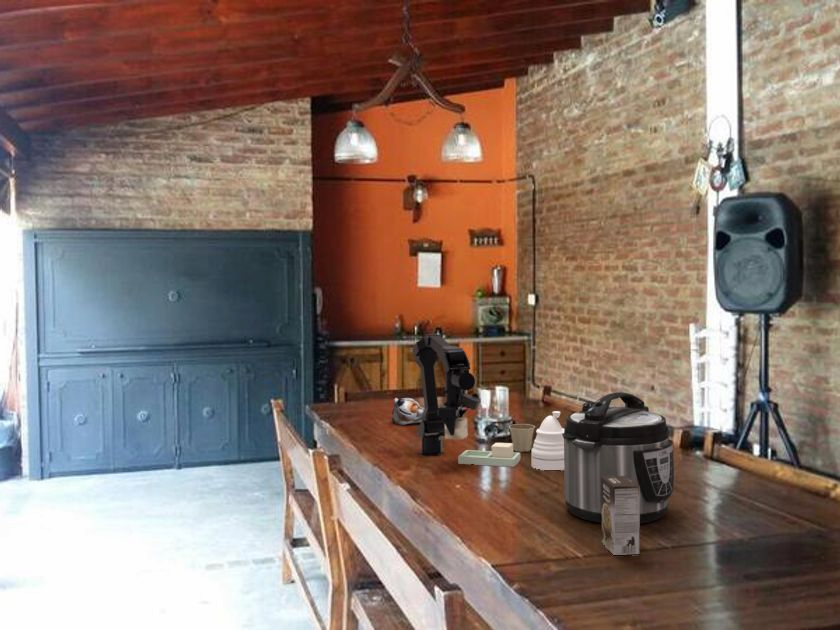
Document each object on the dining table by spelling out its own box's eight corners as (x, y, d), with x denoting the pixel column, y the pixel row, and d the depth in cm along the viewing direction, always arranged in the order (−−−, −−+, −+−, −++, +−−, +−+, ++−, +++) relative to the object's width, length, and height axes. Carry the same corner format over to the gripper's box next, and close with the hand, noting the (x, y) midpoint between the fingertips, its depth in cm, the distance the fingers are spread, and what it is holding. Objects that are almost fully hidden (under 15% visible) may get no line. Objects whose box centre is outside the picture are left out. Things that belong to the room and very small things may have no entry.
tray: (458, 463, 279) (457, 446, 278) (466, 457, 288) (466, 440, 288) (514, 466, 272) (513, 448, 272) (520, 460, 282) (520, 442, 282)
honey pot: (575, 463, 276) (574, 409, 275) (565, 472, 264) (564, 416, 263) (538, 460, 281) (537, 407, 280) (526, 469, 269) (525, 413, 268)
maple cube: (445, 438, 273) (444, 420, 273) (450, 435, 279) (449, 417, 279) (462, 439, 271) (462, 420, 271) (467, 435, 277) (467, 418, 277)
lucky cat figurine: (429, 420, 358) (431, 394, 351) (416, 436, 349) (419, 410, 342) (398, 409, 364) (400, 383, 356) (385, 424, 354) (387, 398, 347)
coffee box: (600, 543, 196) (599, 475, 195) (627, 542, 196) (626, 474, 195) (612, 557, 187) (612, 485, 186) (640, 555, 187) (640, 484, 186)
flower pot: (534, 453, 291) (534, 429, 291) (507, 453, 293) (507, 428, 293) (536, 447, 301) (536, 424, 300) (510, 447, 302) (509, 423, 302)
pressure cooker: (586, 534, 203) (585, 405, 201) (543, 503, 230) (542, 389, 228) (697, 523, 209) (697, 398, 208) (643, 494, 237) (642, 383, 235)
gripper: (470, 391, 263) (470, 440, 264) (485, 383, 280) (485, 429, 281) (436, 390, 266) (437, 438, 267) (453, 382, 284) (454, 427, 285)
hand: (455, 433), depth 275 cm, fingers closed on maple cube, 6 cm apart
